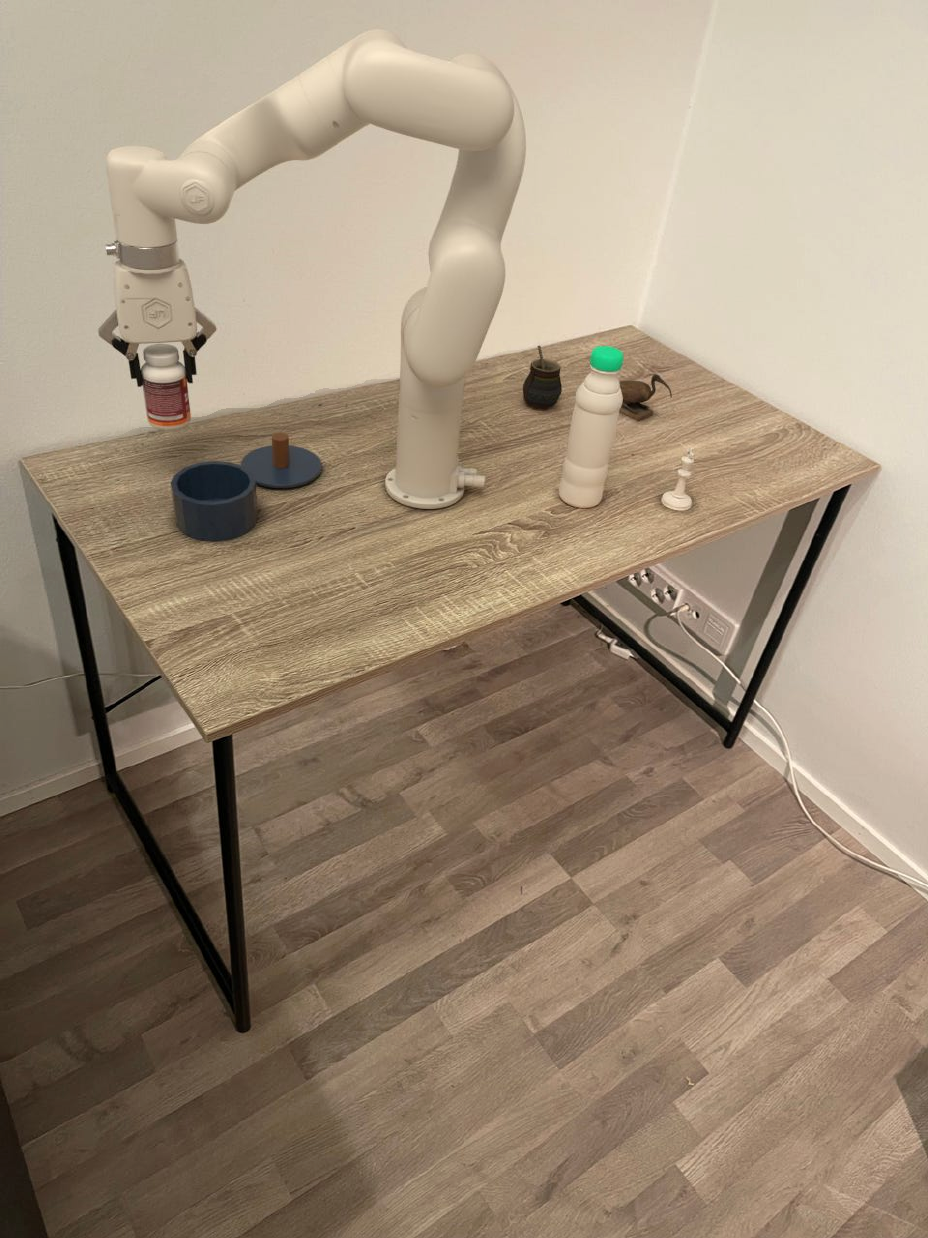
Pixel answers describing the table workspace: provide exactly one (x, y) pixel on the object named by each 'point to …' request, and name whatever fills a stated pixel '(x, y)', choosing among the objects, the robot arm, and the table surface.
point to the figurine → (638, 397)
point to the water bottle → (592, 430)
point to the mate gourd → (542, 384)
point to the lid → (282, 464)
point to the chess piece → (680, 486)
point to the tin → (214, 500)
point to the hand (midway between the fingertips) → (164, 379)
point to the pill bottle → (165, 388)
